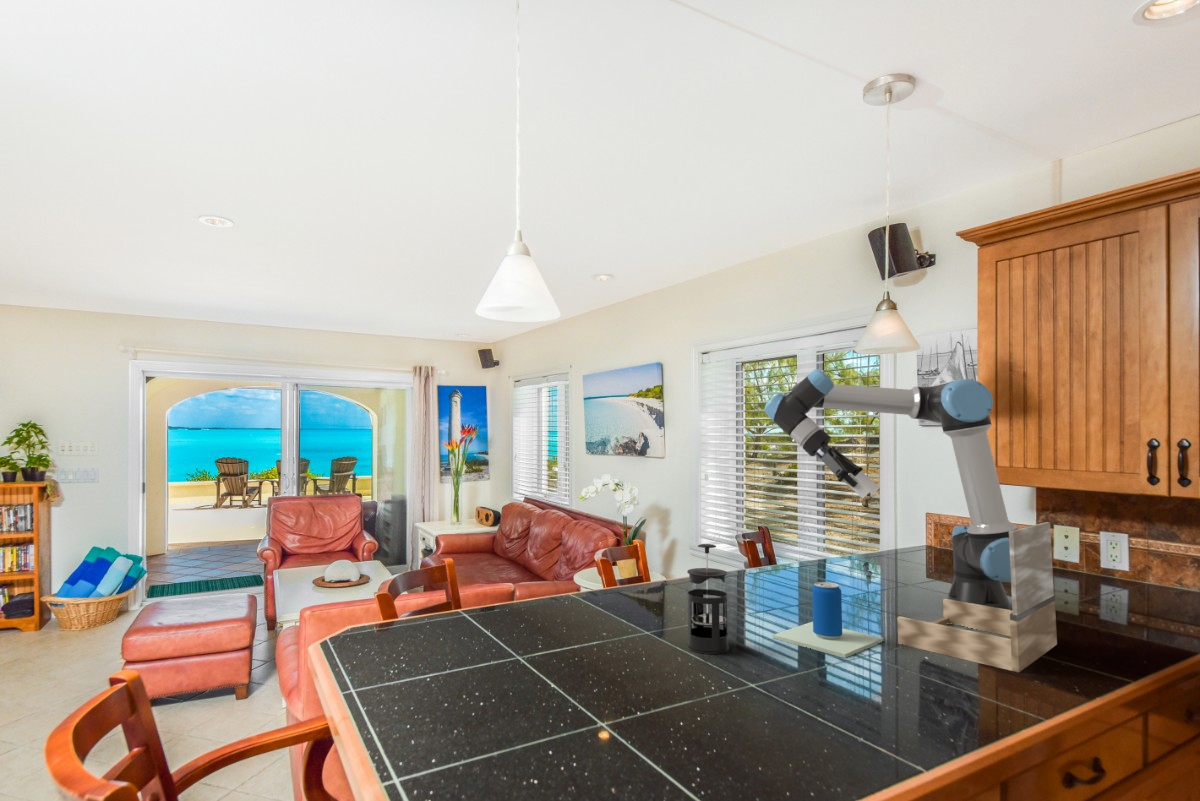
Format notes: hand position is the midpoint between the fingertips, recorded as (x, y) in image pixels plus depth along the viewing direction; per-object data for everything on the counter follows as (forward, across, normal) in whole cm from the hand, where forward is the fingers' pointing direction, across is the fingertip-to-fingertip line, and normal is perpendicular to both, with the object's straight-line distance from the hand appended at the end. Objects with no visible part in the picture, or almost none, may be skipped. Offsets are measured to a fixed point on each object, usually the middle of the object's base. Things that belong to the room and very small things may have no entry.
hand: (871, 493), depth 163 cm
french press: (+3, +44, -43) cm, 62 cm away
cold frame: (+40, +6, -8) cm, 41 cm away
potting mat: (+18, +23, -28) cm, 41 cm away
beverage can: (+18, +23, -28) cm, 40 cm away
